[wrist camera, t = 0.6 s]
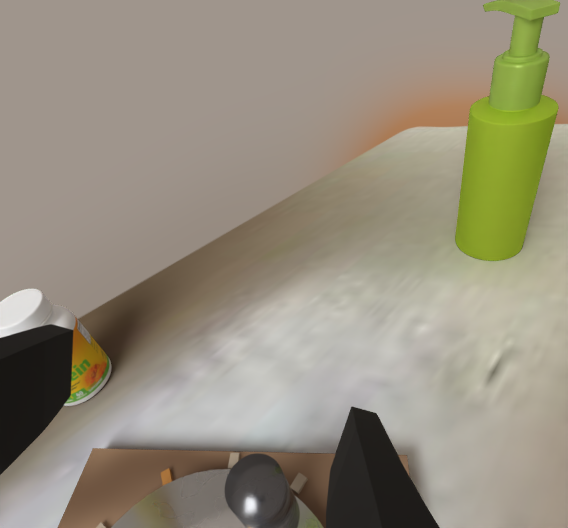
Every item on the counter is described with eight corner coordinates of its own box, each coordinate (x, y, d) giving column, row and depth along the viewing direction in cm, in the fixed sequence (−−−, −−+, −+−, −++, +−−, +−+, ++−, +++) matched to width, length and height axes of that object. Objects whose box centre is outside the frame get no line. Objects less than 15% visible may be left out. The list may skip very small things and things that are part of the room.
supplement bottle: (61, 420, 33) (-21, 350, 26) (47, 379, 36) (-27, 309, 30) (121, 379, 35) (59, 305, 28) (103, 344, 38) (44, 271, 32)
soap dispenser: (493, 211, 42) (534, -17, 29) (537, 250, 36) (612, -7, 23) (439, 226, 41) (456, 4, 28) (475, 267, 36) (517, 18, 23)
